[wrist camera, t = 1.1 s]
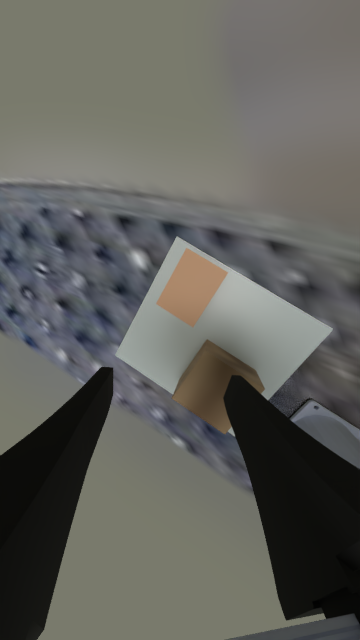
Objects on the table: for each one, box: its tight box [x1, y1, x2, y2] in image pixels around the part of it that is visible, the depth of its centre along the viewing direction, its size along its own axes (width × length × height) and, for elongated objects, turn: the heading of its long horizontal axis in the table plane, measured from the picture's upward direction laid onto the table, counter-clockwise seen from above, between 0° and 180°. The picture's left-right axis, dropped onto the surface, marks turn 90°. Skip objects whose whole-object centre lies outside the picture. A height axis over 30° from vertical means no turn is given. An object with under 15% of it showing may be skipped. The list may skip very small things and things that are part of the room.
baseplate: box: [115, 237, 333, 436], centre depth 21 cm, size 20×18×1 cm
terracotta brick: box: [156, 248, 228, 327], centre depth 18 cm, size 4×6×4 cm
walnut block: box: [172, 339, 265, 434], centre depth 20 cm, size 7×7×4 cm
